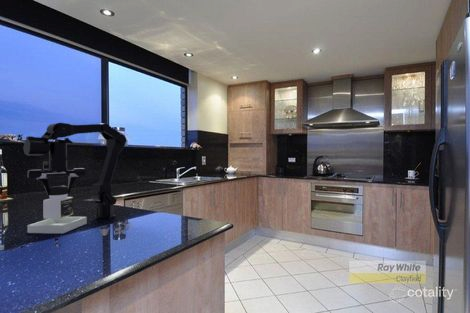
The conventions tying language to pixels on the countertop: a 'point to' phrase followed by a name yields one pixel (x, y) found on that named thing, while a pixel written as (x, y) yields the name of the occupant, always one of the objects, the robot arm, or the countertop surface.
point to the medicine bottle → (58, 203)
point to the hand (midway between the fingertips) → (58, 194)
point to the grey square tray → (57, 225)
